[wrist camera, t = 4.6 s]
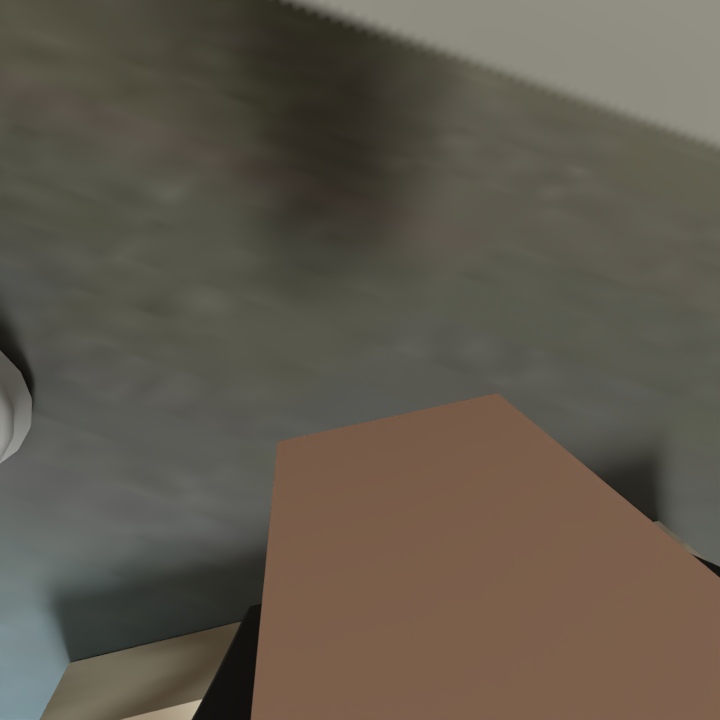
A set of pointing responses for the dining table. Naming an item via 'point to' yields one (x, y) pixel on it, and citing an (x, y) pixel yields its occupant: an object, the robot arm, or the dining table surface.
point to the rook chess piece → (13, 408)
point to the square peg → (473, 582)
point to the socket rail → (155, 676)
